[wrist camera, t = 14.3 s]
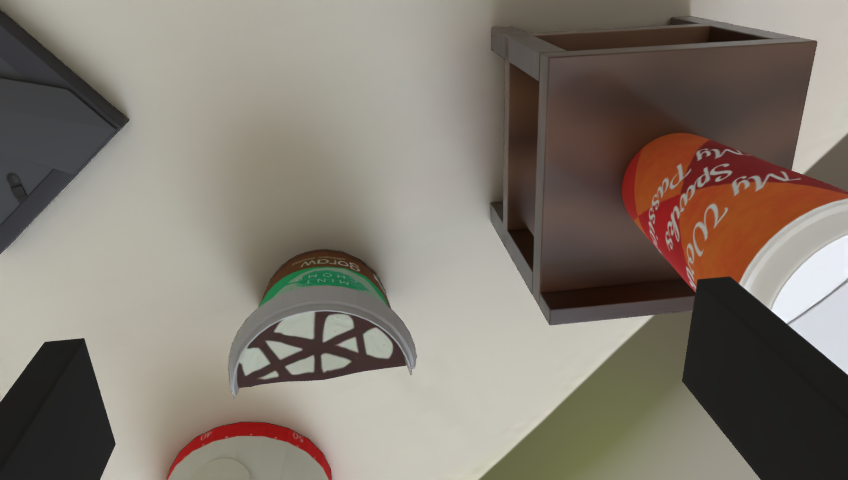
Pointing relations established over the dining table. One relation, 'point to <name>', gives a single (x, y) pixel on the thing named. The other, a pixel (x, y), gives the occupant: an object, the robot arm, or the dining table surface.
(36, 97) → the picture frame
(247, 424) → the kitchen timer
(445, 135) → the dining table surface
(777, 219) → the paper cup
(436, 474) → the dining table surface
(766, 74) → the rack
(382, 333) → the food container
